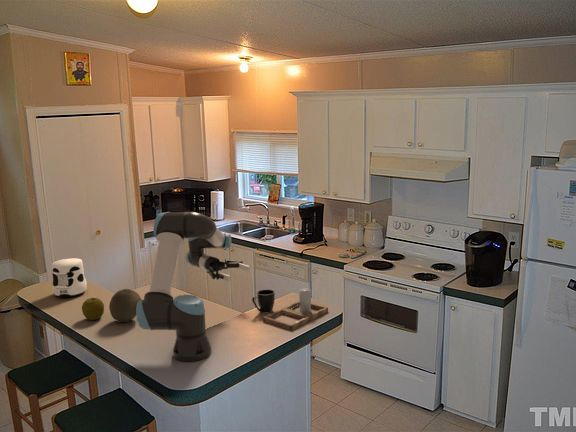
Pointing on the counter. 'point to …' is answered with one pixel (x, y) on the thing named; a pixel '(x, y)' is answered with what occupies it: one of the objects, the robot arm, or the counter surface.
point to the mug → (265, 300)
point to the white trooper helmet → (68, 277)
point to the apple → (93, 308)
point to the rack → (300, 315)
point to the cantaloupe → (124, 305)
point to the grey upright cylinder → (305, 300)
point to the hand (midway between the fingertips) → (239, 273)
